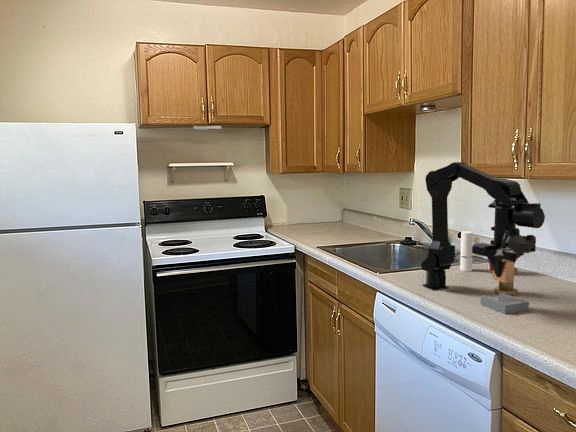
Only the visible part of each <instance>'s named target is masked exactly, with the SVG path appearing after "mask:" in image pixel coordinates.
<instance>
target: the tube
mask: <svg viewBox="0 0 576 432" xmlns="http://www.w3.org/2000/svg"><path fill="white" fill-rule="evenodd" d="M460 233H461V234H460V235H461V236H460V260H459V261H460V266H459V270H460V271H462V272H472V271H473V253H472V246H473V245H474V243H473V242H474V232H473V231H467V230H465V231H461V232H460Z"/></svg>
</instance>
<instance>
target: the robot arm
mask: <svg viewBox="0 0 576 432" xmlns="http://www.w3.org/2000/svg"><path fill="white" fill-rule="evenodd" d="M459 178H461V179H462V180H465V181H467V182H468V183H470V184H473V185H475V186H477V187H479V188H480V189H483V190H484V191H486V193H487V195H488V196H490V197H491V198H493V201H492V202H491V203H489V205H488V206H487V207H488V208H490V209H494V223H493V224H494V225H493V226H491V227H490V230H491V231H493V239H492V240H490V243H486V242H480V243H479V242H478V243H473V246H472V254H474V255H479V256H482V257H486V258H487V259H488V260H489V261H490V263H491V265H492V268H493V270H494V272H495V274H496V276H497V277H500V275H501V265H502V260H503V259H506V260H510V261H513V262H514V265H515V264H516V262H517V259H519V258H520V257H522V256H524V255H525V254H529V253H533V252H534V253H535V252H536V250H537V249H536V248H537V247H536V246H537V245H536V244H537V240H536V239H537V237H536V235H533V234H528V235H521V234H520V231H521V230H520V228H519V227H524V228H531V229H532V228H533V229H540V228H541V227H543V224H544V223H545V219H546V215H545V212H544V210H543V209H542V207H541V203H539V202H535V203H530V202H529V201H528V199H527V197H526V195H525V194H524V193H523V191H522V187H521V185H520V183H519V182H518V181H516V180H511V179H508V178H503V177H502V178H501V177H495V176H492V175H490V174H489V173H486V172H484V171H481V170H479V169H477V168H475V167H473V166H470V165H469V164H467V163H466V162H463V161H461V162H460V161H455V162H452V163H450V164H447V165H446V166H444V167H443V166H442V167H441V168H438V169H435V170H431V171H429V172H428V173H427V174H426V176H425V185H426V191H427V192H428V194H429V196H430V197H431V220H432V221H431V223H432V229H431V230H432V241H431V242H430V245H429V247H428V249H427V251H428V252H427V257H426V258H425V259H424V260H423V261H422V262H421V263H420V266H421V271H426V273H425V275H426V276H425V277H426V279H425V283H423V284H422V286H423V287H424V288H427V289H429V290H431V291H437V290H446V289H450V287H449V285H446V283H447V281H446V280H447V277H446V274H447V273H446V270H450V269H451V266H452V264H453V263H454V262H455V258H456V246H455V244H454V245H452V244H451V243H450V241H449V225H448V224H449V222H448V219H449V218H448V217H449V216H448V197H449V194H450V192H451V190H452V188H453V187H452V186H453V182H455V181H457V180H458V179H459ZM490 244H494V245H490ZM502 254H503V255H502Z"/></svg>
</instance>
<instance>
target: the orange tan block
mask: <svg viewBox="0 0 576 432" xmlns="http://www.w3.org/2000/svg"><path fill="white" fill-rule="evenodd" d="M514 268H515V264H514V262H513V261H510V260H506V259H503V260H502V265H501V275H500V277H497V276H496V274H495V272H494V270H493V273H492V280H494V281H498V282H499V281H501V282H504V283H509V282H513V279H514V278H515V274H514ZM514 280H515V279H514Z"/></svg>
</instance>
